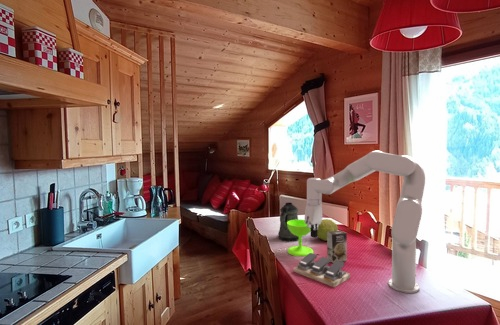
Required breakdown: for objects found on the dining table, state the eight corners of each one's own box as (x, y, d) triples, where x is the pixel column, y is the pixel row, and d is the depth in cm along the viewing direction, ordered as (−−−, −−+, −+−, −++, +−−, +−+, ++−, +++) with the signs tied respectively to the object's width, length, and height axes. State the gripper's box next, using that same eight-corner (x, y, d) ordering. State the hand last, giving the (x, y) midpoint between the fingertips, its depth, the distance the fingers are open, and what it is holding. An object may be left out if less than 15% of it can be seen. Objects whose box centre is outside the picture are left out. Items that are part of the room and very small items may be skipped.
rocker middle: (322, 258, 153) (322, 256, 153) (330, 261, 150) (329, 258, 149) (311, 269, 147) (311, 266, 147) (319, 271, 143) (318, 269, 143)
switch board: (310, 263, 162) (309, 254, 162) (350, 277, 144) (349, 267, 144) (293, 271, 153) (293, 262, 152) (334, 287, 135) (334, 276, 135)
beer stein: (300, 234, 215) (300, 200, 214) (303, 243, 196) (302, 206, 195) (278, 234, 217) (277, 200, 216) (278, 242, 198) (277, 206, 196)
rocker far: (310, 254, 159) (309, 252, 159) (317, 256, 156) (316, 254, 155) (299, 264, 153) (298, 262, 152) (306, 266, 149) (305, 264, 149)
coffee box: (332, 263, 162) (332, 234, 161) (326, 259, 168) (326, 231, 167) (347, 261, 165) (347, 232, 164) (340, 257, 171) (340, 229, 170)
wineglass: (313, 257, 171) (313, 226, 170) (286, 255, 175) (285, 225, 174) (313, 247, 187) (313, 219, 186) (288, 246, 190) (287, 219, 189)
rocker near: (336, 262, 147) (335, 260, 147) (344, 264, 144) (343, 262, 143) (325, 274, 141) (325, 272, 141) (333, 277, 138) (333, 275, 137)
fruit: (338, 244, 193) (327, 225, 191) (319, 248, 201) (308, 229, 199) (343, 230, 206) (333, 212, 204) (325, 234, 214) (315, 217, 212)
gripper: (316, 199, 160) (316, 232, 161) (299, 203, 149) (299, 238, 151) (328, 200, 154) (328, 235, 155) (311, 205, 144) (311, 241, 145)
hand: (313, 236), depth 153 cm, fingers closed
